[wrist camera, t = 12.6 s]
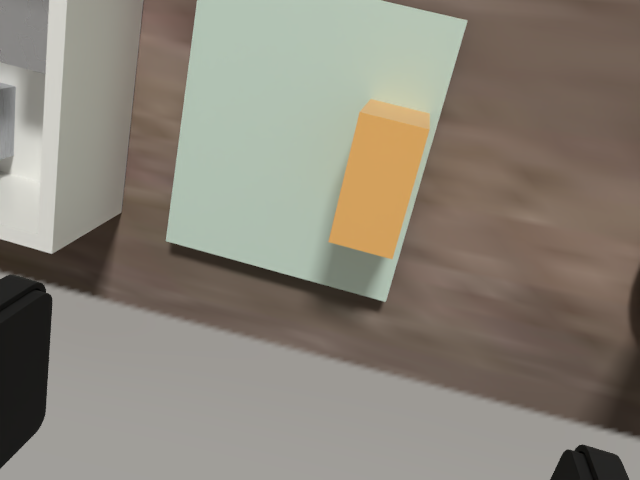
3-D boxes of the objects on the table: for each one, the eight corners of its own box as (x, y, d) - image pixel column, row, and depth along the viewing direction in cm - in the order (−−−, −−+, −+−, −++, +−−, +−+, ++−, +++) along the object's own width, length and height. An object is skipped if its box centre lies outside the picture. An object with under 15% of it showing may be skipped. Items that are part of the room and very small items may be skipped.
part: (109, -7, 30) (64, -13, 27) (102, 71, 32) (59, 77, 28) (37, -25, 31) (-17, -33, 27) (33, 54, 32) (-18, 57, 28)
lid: (465, 20, 29) (475, 18, 23) (387, 290, 34) (378, 346, 28) (213, -38, 30) (158, -55, 24) (176, 232, 35) (124, 274, 29)
